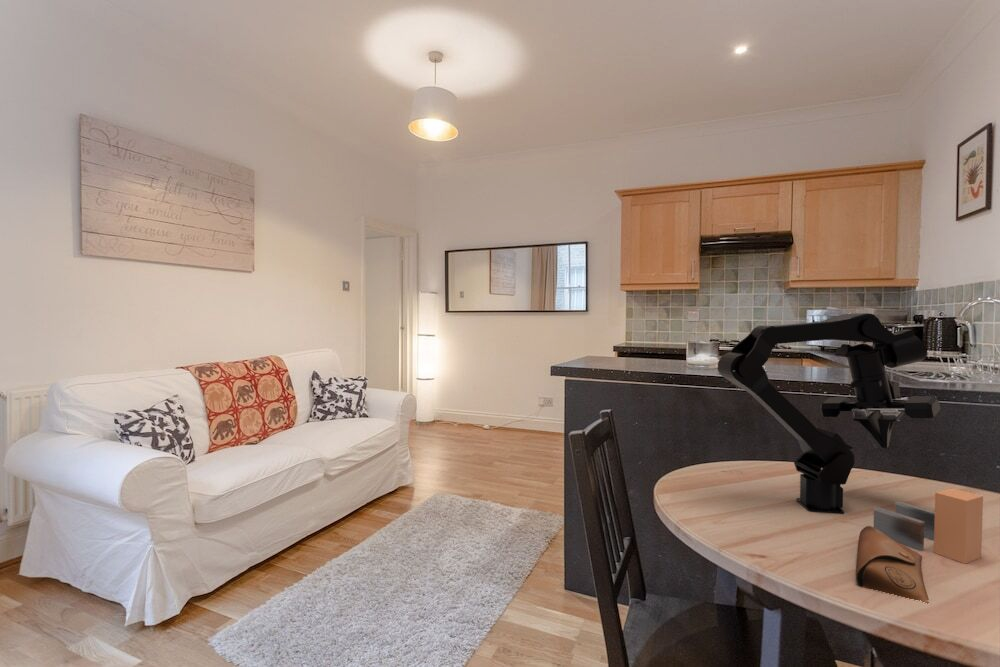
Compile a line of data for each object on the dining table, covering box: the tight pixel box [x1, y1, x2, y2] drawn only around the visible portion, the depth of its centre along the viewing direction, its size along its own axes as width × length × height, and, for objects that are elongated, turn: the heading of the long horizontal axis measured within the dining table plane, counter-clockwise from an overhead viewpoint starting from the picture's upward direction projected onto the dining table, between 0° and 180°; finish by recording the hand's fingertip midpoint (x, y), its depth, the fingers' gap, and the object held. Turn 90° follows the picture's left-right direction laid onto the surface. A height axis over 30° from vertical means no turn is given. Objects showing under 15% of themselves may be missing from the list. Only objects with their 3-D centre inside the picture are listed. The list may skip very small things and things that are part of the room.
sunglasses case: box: [855, 525, 930, 605], centre depth 75 cm, size 18×7×7 cm
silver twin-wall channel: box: [873, 500, 935, 552], centre depth 84 cm, size 7×8×5 cm
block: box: [933, 487, 984, 565], centre depth 78 cm, size 4×5×10 cm
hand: (885, 447), depth 98 cm, fingers closed
